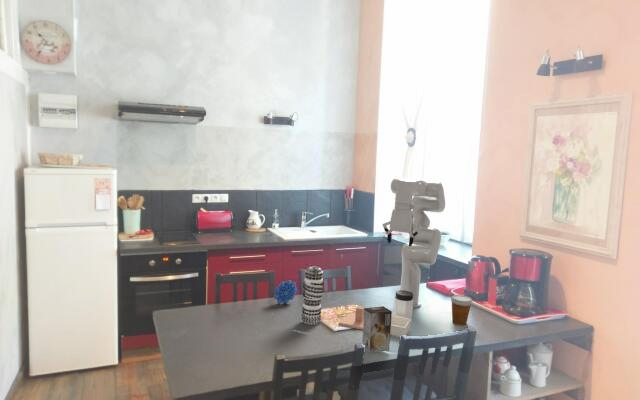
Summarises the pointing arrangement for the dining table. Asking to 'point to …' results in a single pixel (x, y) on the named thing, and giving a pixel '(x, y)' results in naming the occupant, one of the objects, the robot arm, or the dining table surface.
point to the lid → (354, 319)
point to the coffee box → (376, 329)
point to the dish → (400, 326)
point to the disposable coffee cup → (460, 309)
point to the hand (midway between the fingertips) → (399, 244)
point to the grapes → (285, 292)
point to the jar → (403, 304)
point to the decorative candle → (312, 295)
